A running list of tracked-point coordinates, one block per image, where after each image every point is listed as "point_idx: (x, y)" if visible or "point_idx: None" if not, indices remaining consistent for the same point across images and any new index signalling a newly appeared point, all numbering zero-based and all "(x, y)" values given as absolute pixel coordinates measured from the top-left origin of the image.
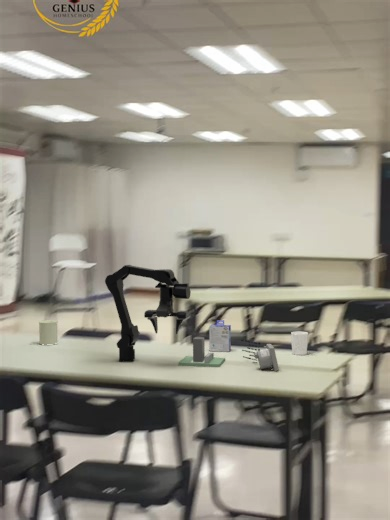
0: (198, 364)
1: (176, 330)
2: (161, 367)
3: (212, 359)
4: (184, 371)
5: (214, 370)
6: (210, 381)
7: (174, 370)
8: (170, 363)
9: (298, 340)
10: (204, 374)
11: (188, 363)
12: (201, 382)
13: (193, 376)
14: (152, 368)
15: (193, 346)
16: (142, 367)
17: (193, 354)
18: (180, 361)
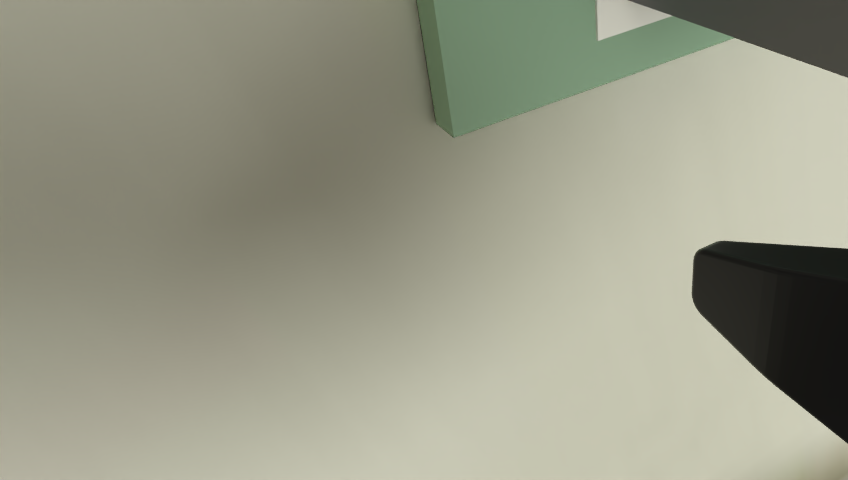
0: (691, 47)
1: (794, 386)
2: (295, 333)
3: None
4: (595, 320)
5: (834, 128)
6: (815, 421)
7: (494, 348)
8: (276, 73)
9: None
10: None
11: (581, 89)
12: (768, 472)
13: (700, 399)
14: (224, 430)
15: (815, 60)
16: (68, 474)
17: (706, 23)
18: (457, 62)
